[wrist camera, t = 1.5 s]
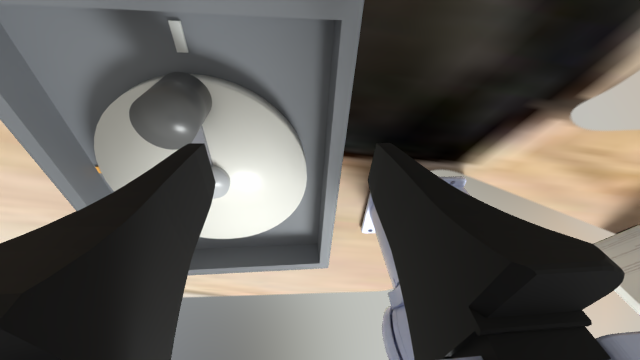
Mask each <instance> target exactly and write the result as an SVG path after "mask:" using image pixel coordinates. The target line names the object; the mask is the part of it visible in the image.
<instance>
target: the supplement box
mask: <svg viewBox="0 0 640 360" xmlns="http://www.w3.org/2000/svg"><path fill="white" fill-rule="evenodd" d="M594 245H595V246H597V247H598V248H599V249H600V250H601V251H603V252H604V253H605V254H606V255H607V256H608V257H609V258H610V259H611V260H613V261H614V262H615V263H616V264H617V265H618V266H619V267H620V268H621V269H622V270H623V271H624V273H625V276H624V279H623V282H622V283H621V284H620V285H619V286H618V287H617V288H616V289H615V290H614V291H615V292H616V293H617V294H618V295H619V296H620V297H621V298H622V299H623V300H624V301H625V302H626V303H627V304H628V305H629V306H630V307H631V308H632V309H633V310H634V311H635V312H636V313H638V315H639V316H640V225H637V226H635V227H633V228H630V229H628V230H626V231H623V232H621V233H618V234H616V235H614V236H611V237H609V238H606V239H604V240H601V241H599V242H597V243H594Z"/></svg>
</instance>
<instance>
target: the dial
mask: <svg viewBox="0 0 640 360" xmlns="http://www.w3.org/2000/svg"><path fill="white" fill-rule="evenodd" d="M188 143H205V147H206V150H207V154H208V157H209V161H210V164H211V168H212V171H213V175H214V179H215V182H216V184H215V189H214V195H213V199H212V204H211V207H210V210H209V212H208V215H207V218H206V221H205V223H204V226H203V229H202V231H201V234H200V237H203V238H213V239H233V238H242V237H248V236H252V235H256V234H259V233H262V232H265V231H267V230H269V229H271V228H273V227H275V226H277V225H278V224H280V223H282V222H283V221H284V220H285V219H287V218H288V217H289V216H290V215H291V214H292V213H293V212H294V211H295V209H296V208H297V207H298V205H299V204H300V202H301V200H302V198H303V195H304V192H305V188H306V182H307V171H306V158H305V154H304V149H303V146H302V144H301V141H300V139H299V137H298V135H297V133H296V132H295V130H294V128H293V127H292V126H291V124H290V123H289V122H288V120H287V119H286V118H285V117H284V116H283V115H282V114H281V113H280V112H279V111H278V110H277V109H276V108H275V107H274V106H273V105H271V104H270V103H269V102H268V101H266V100H265V99H264V98H262V97H260V96H259V95H257V94H256V93H254V92H252V91H251V90H248V89H246V88H244V87H242V86H240V85H238V84H235V83H232V82H229V81H226V80H224V79H220V78H216V77H211V76H206V75H197V74H188V73H184V72H172V73H169V74H167V75H165V76H160V77H155V78H153V79H150V80H147V81H144V82H142V83H140V84H138V85H136V86H134V87H133V88H131V89H129V90H128V91H127V92H125V93H124V94H123V95H121V96H120V97H119V98H117V99H116V100H115V101H114V102H113V103H111V104H110V105H109V106H108V108H107V109H106V110H105V112H104V113H103V114H102V116H101V118H100V120H99V122H98V124H97V126H96V131H95V135H94V151H95V156H96V161H97V163H98V166H99V169H100V171H101V173H102V175H103V176H104V178H105V180H106V182H107V183H108V184H109V186H110V187H111V188H112V190H113V191H116V190H118V189H120V188H121V187H123V186H125V185H126V184H128V183H129V182H131V181H132V180H134V179H136V178H137V177H139V176H140V175H142V174H144V173H145V172H147V171H148V170H150V169H151V168H153V167H154V166H155V165H157V164H158V163H160V162H161V161H163V160H164V159H166V158H167V157H168V156H170V155H171V154H173V153H174V152H176V151H177V150H179V149H180V148H182V147H183V146H185V145H187V144H188Z"/></svg>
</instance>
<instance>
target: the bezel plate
mask: <svg viewBox="0 0 640 360" xmlns="http://www.w3.org/2000/svg"><path fill="white" fill-rule="evenodd" d="M363 6H364V0H0V120H1V121H2V122H3V123H4V124H5V126H6V127H7V128H8V129H9V130H10V132H11V133H12V134H13V135H14V136H15V138H16V139H17V140H18V141H19V142H20V144H21V145H22V146H23V147H24V148H25V150H26V151H27V152H28V153H29V154H30V156H31V157H32V158H33V159H34V160H35V162H36V163H37V164H38V165H39V166H40V168H41V169H42V170H43V171H44V172H45V174H46V175H47V176H48V177H49V178H50V180H51V181H52V182H53V183H54V184H55V186H56V187H57V188H58V189H59V191H60V192H61V193H62V194H63V195H64V197H65V198H66V199H67V200H68V201H69V203H70V204H71V205H72V206H73V207H74V209H75V210H76V211H78V210H80V209H82V208H84V207H86V206H88V205H90V204H92V203H94V202H96V201H98V200H100V199H102V198H104V197H106V196H107V195H109V194H111V193H113V192H114V191H113V190H112V188H111V187H110V186H109V184H108V183H107V182H106V180H105V178H104V176H103V175H102V173H101V171H100V169H99V166H98V163H97V161H96V156H95V151H94V135H95V131H96V126H97V124H98V122H99V120H100V118H101V116H102V114H103V113H104V112H105V110H106V109H107V108H108V106H109V105H110V104H111V103H113V102H114V101H115V100H116V99H117V98H119V97H120V96H121V95H123V94H124V93H125V92H127V91H128V90H129V89H131V88H133V87H134V86H136V85H138V84H140V83H142V82H144V81H147V80H150V79H153V78H155V77H160V76H165V75H167V74H169V73H172V72H184V73H188V74H197V75H206V76H211V77H216V78H220V79H224V80H226V81H229V82H232V83H235V84H238V85H240V86H242V87H244V88H246V89H248V90H251V91H252V92H254V93H256V94H257V95H259V96H260V97H262V98H264V99H265V100H266V101H268V102H269V103H270V104H271V105H273V106H274V107H275V108H276V109H277V110H278V111H279V112H280V113H281V114H282V115H283V116H284V117H285V118H286V119H287V120H288V122H289V123H290V124H291V126H292V127H293V128H294V130H295V132H296V133H297V135H298V137H299V139H300V141H301V144H302V146H303V149H304V154H305V158H306V171H307V182H306V188H305V192H304V195H303V198H302V200H301V202H300V204H299V205H298V207H297V208H296V209H295V211H294V212H293V213H292V214H291V215H290V216H289V217H288V218H287V219H285V220H284V221H283V222H282V223H280V224H278V225H277V226H275V227H273V228H271V229H269V230H267V231H265V232H262V233H259V234H256V235H252V236H248V237H242V238H233V239H213V238H203V237H199V239H198V242H197V245H196V248H195V250H194V253H193V256H192V260H191V263H190V267H189V271H188V275H204V274H224V273H243V272H262V271H281V270H300V269H319V268H328V265H329V258H330V250H331V243H332V236H333V228H334V221H335V213H336V206H337V199H338V191H339V184H340V176H341V169H342V162H343V154H344V147H345V139H346V132H347V125H348V117H349V110H350V102H351V95H352V88H353V80H354V73H355V65H356V58H357V51H358V43H359V36H360V28H361V21H362V14H363Z"/></svg>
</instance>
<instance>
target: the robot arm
mask: <svg viewBox="0 0 640 360" xmlns="http://www.w3.org/2000/svg"><path fill="white" fill-rule="evenodd" d="M451 181H452V182H451ZM368 183H369V188H370V194H369V198H368V203H367V207H366V211H365V215H364V219H363V223H362V227H361V231H362V233H376V236H377V239H378V242H379V245H380V248H381V251H382V254H383V257H384V260H385V263H386V267H387V270H388V273H389V276H390V279H391V282H392V285H393V288H394V290H393V291H391V292H389V293H388V297H389V300H390V303H391V306H389V307H388V308H386V310H385V312H384V317H383V324H382V334H383V340H384V345H385V348H386V352H387V355H388V358H389V360H640V332H628V333H617V334H610V335H605V336H601V337H599V338H596V339H595V338H594V337H593V336H592V334H591V333H590V332H589V331H588V330H587V328H586V327H585V326H589V325H591V320H590V319H589V318H588V317H587V315H585V313H584V312H583V311H582V310H583V309H584V308H586V307H588V306H589V305H591V304H593V303H594V302H596V301H597V300H599V299H601V298H602V297H604V296H606V295H608V294H609V293H611V292H612V291H613V290H615V289H616V288H617V287H618V286H619V285H620V284H621V283H622V282H623V279H624V276H625V273H624V271H623V270H622V269H621V268H620V267H619V266H618V265H617V264H616V263H615V262H614V261H613V260H611V259H610V258H609V257H608V256H607V255H606V254H605V253H604V252H603V251H601V250H600V249H599V248H598V247H597V246H595V245H594V244H591V243H588V242H585V241H582V240H579V239H576V238H573V237H570V236H567V235H564V234H561V233H558V232H555V231H552V230H549V229H546V228H543V227H540V226H538V225H535V224H532V223H530V222H527V221H525V220H522V219H519V218H517V217H515V216H512V215H510V214H508V213H505V212H503V211H501V210H498V209H497V208H494V207H492V206H490V205H488V204H485V203H484V202H482V201H479V200H477V199H476V198H473V197H472V196H470V195H469V193H468V192H467V191H466V190H465V188H464V185H465V183H466V179H465V178H464V177H438V176H436V175H435V174H433V173H432V172H430V171H429V170H427V169H426V168H425V167H423V166H422V165H420V164H419V163H418V162H416V161H415V160H414V159H412V158H411V157H410V156H408V155H407V154H406V153H404V152H403V151H401V150H400V149H399V148H397V147H396V146H394V145H393V144H391V143H376V147H375V151H374V156H373V160H372V164H371V169H370V173H369V178H368ZM215 184H216V182H215V179H214V175H213V171H212V168H211V164H210V161H209V157H208V154H207V150H206V147H205V143H188V144H187V145H185V146H183V147H182V148H180V149H179V150H177V151H176V152H174V153H173V154H171V155H170V156H168V157H167V158H166V159H164V160H163V161H161V162H160V163H158V164H157V165H155V166H154V167H153V168H151V169H150V170H148V171H147V172H145V173H144V174H142V175H140V176H139V177H137V178H136V179H134V180H132V181H131V182H129V183H128V184H126V185H125V186H123V187H121V188H120V189H118V190H116V191H114V192H113V193H111V194H109V195H107V196H106V197H104V198H102V199H100V200H98V201H96V202H94V203H92V204H90V205H88V206H86V207H84V208H82V209H80V210H78V211H76V212H74V213H72V214H69V215H67V216H65V217H63V218H61V219H58V220H56V221H54V222H52V223H50V224H48V225H45V226H43V227H41V228H38V229H36V230H33V231H31V232H29V233H26V234H24V235H21V236H19V237H16V238H14V239H11V240H8V241H6V242H3V243H1V244H0V360H171V355H172V349H173V343H174V337H175V332H176V327H177V321H178V316H179V311H180V306H181V301H182V297H183V293H184V288H185V284H186V279H187V275H188V271H189V267H190V263H191V260H192V256H193V253H194V250H195V248H196V245H197V242H198V239H199V237H200V234H201V231H202V229H203V226H204V223H205V221H206V218H207V215H208V212H209V210H210V207H211V204H212V199H213V195H214V189H215Z"/></svg>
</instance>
